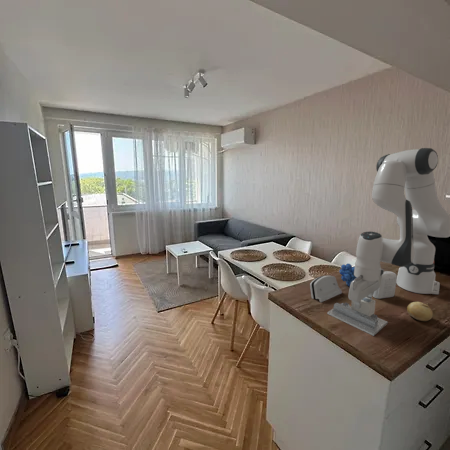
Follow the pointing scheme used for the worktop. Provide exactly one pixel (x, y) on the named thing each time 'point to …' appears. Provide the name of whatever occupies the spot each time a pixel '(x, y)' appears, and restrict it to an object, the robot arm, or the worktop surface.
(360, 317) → the rail base
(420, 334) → the worktop surface
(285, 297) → the worktop surface
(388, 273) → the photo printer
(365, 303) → the block
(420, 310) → the onion
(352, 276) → the grapes
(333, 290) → the white toaster
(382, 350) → the worktop surface
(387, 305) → the worktop surface
